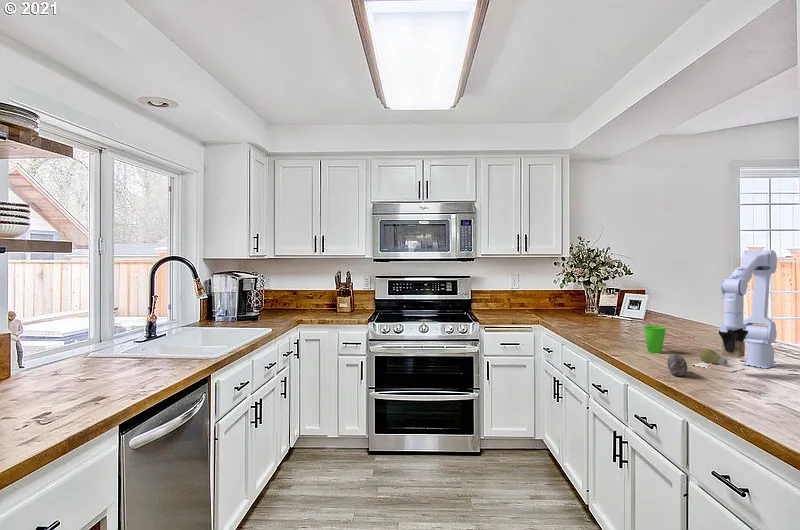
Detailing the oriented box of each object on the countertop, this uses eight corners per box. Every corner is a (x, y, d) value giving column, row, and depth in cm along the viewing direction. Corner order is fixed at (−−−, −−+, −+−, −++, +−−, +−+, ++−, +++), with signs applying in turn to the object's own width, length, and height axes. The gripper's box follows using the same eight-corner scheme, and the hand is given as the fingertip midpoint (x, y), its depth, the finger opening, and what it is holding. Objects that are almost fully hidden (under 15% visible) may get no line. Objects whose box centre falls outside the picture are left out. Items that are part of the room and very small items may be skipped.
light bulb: (732, 362, 185) (705, 351, 194) (729, 353, 182) (702, 343, 191) (724, 372, 184) (697, 362, 192) (721, 364, 181) (694, 353, 190)
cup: (644, 353, 209) (644, 328, 209) (642, 349, 217) (642, 325, 217) (667, 355, 206) (668, 329, 205) (665, 351, 214) (665, 326, 214)
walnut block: (728, 354, 175) (729, 340, 175) (744, 356, 170) (744, 342, 170) (722, 355, 172) (722, 341, 172) (737, 357, 168) (738, 343, 168)
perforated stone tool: (664, 368, 181) (664, 350, 181) (680, 369, 179) (680, 351, 179) (671, 377, 167) (671, 357, 167) (688, 379, 165) (688, 358, 165)
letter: (704, 362, 191) (704, 361, 191) (744, 369, 179) (744, 368, 179) (691, 365, 186) (691, 364, 186) (731, 372, 174) (731, 372, 174)
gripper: (730, 310, 178) (730, 347, 178) (711, 312, 171) (710, 351, 171) (752, 312, 172) (752, 350, 172) (733, 314, 165) (733, 354, 165)
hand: (733, 350), depth 171 cm, fingers closed on walnut block, 5 cm apart
